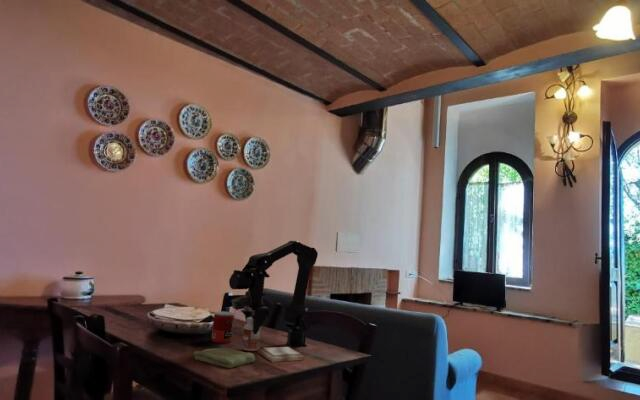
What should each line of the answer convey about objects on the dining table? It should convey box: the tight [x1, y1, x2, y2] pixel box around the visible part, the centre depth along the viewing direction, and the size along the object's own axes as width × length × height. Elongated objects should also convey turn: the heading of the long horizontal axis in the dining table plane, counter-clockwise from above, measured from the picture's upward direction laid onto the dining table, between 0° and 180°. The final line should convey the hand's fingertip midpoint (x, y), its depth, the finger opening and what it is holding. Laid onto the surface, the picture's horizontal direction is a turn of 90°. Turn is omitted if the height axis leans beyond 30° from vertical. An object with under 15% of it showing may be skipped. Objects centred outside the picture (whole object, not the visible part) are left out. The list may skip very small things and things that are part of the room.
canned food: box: [211, 310, 235, 345], centre depth 166 cm, size 8×8×11 cm
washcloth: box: [193, 347, 256, 369], centre depth 139 cm, size 13×18×3 cm
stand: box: [258, 346, 305, 363], centre depth 149 cm, size 12×12×2 cm
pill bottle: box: [241, 317, 262, 352], centre depth 155 cm, size 6×6×11 cm
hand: (251, 332), depth 155 cm, fingers closed on pill bottle, 6 cm apart
